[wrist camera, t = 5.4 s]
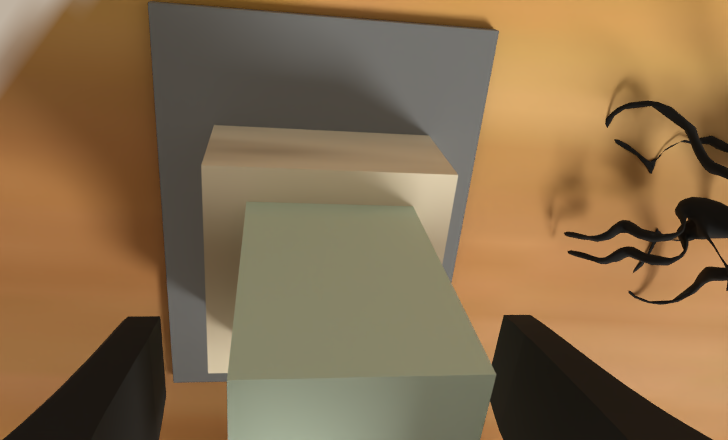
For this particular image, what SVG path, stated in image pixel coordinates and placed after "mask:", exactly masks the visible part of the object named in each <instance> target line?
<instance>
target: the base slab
mask: <svg viewBox="0 0 728 440" xmlns="http://www.w3.org/2000/svg"><path fill="white" fill-rule="evenodd" d="M201 174H202V204H203V234H204V264H205V294H206V324H207V355H208V373H228V366H229V357H230V348H231V338H232V329H233V320H234V311H235V302H236V292H237V283H238V274H239V265H240V256H241V247H242V237H243V228H244V219H245V210H246V202H277V203H313V204H348V205H384V206H413V207H414V209H415V211H416V213H417V215H418V217H419V219H420V221H421V223H422V225H423V227H424V229H425V231H426V233H427V235H428V237H429V239H430V241H431V244H432V246H433V248H434V250H435V252H436V254H437V256H438V258H439V260H440V262H441V264H443V258H444V252H445V247H446V241H447V236H448V230H449V224H450V219H451V213H452V208H453V202H454V196H455V191H456V185H457V180H458V174H457V173H456V171H455V170H454V169H453V167H452V166H451V164H450V163H449V162H448V160H447V159H446V158H445V156H444V155H443V154H442V152H441V151H440V150H439V148H438V147H437V146H436V144H435V143H434V142H433V140H432V139H431V138H430V136H429V135H408V134H388V133H367V132H347V131H326V130H306V129H285V128H265V127H244V126H224V125H214V127H213V130H212V133H211V136H210V139H209V142H208V146H207V149H206V152H205V155H204V158H203V161H202V164H201Z"/></svg>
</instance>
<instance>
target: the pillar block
mask: <svg viewBox="0 0 728 440" xmlns="http://www.w3.org/2000/svg"><path fill="white" fill-rule="evenodd" d="M495 378H496V373H495V371H494V369H493V367H492V365H491V363H490V360H489V358H488V356H487V354H486V352H485V350H484V348H483V346H482V344H481V342H480V340H479V338H478V336H477V334H476V332H475V330H474V328H473V326H472V324H471V322H470V320H469V318H468V316H467V314H466V312H465V310H464V308H463V306H462V304H461V302H460V300H459V298H458V296H457V294H456V292H455V290H454V288H453V286H452V284H451V282H450V280H449V278H448V276H447V274H446V272H445V270H444V268H443V266H442V264H441V262H440V260H439V258H438V256H437V254H436V252H435V250H434V248H433V246H432V244H431V241H430V239H429V237H428V235H427V233H426V231H425V229H424V227H423V225H422V223H421V221H420V219H419V217H418V215H417V213H416V211H415V209H414V207H413V206H384V205H348V204H313V203H277V202H246V210H245V219H244V228H243V237H242V247H241V256H240V265H239V274H238V283H237V292H236V302H235V311H234V320H233V329H232V338H231V348H230V357H229V366H228V375H227V420H228V440H480V438H481V434H482V430H483V426H484V422H485V418H486V414H487V410H488V406H489V402H490V398H491V394H492V390H493V386H494V382H495Z"/></svg>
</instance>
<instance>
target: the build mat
mask: <svg viewBox="0 0 728 440" xmlns="http://www.w3.org/2000/svg"><path fill="white" fill-rule="evenodd" d="M148 12H149V27H150V41H151V56H152V71H153V86H154V100H155V115H156V130H157V145H158V159H159V174H160V189H161V204H162V218H163V233H164V248H165V263H166V277H167V292H168V307H169V322H170V336H171V351H172V366H173V381H174V383H180V382H225V381H227V375H228V373H208V355H207V324H206V294H205V264H204V234H203V204H202V174H201V164H202V161H203V158H204V155H205V152H206V149H207V146H208V142H209V139H210V136H211V133H212V130H213V127H214V125H224V126H244V127H265V128H285V129H306V130H326V131H347V132H367V133H388V134H408V135H429V136H430V138H431V139H432V140H433V142H434V143H435V144H436V146H437V147H438V148H439V150H440V151H441V152H442V154H443V155H444V156H445V158H446V159H447V160H448V162H449V163H450V164H451V166H452V167H453V169H454V170H455V171H456V173H457V174H458V180H457V185H456V191H455V196H454V202H453V208H452V213H451V219H450V224H449V230H448V236H447V241H446V247H445V252H444V258H443V264H442V266H443V268H444V270H445V272H446V274H447V276H448V278H449V280H450V282H452V276H453V271H454V266H455V261H456V255H457V250H458V245H459V239H460V234H461V229H462V224H463V218H464V213H465V208H466V203H467V197H468V192H469V187H470V181H471V176H472V171H473V166H474V160H475V155H476V150H477V144H478V139H479V134H480V129H481V123H482V118H483V113H484V108H485V102H486V97H487V92H488V86H489V81H490V76H491V71H492V65H493V60H494V55H495V49H496V44H497V39H498V34H499V31H498V30H495V29H484V28H472V27H460V26H448V25H435V24H423V23H411V22H399V21H386V20H374V19H362V18H350V17H337V16H325V15H313V14H301V13H288V12H276V11H264V10H252V9H239V8H227V7H215V6H203V5H190V4H178V3H166V2H154V1H150V2H148Z"/></svg>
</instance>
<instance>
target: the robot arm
mask: <svg viewBox="0 0 728 440" xmlns="http://www.w3.org/2000/svg"><path fill="white" fill-rule="evenodd" d="M492 367H493V369H494V371H495V373H496V378H495V382H494V386H493V390H492V394H491V398H490V402H491V405H492V409H493V412H494V415H495V418H496V422H497V425H498V428H499V431H500V433H501V435H502V438H503V440H713V439H711V438H709V437H707V436H705V435H704V434H702V433H700V432H699V431H697V430H695V429H693V428H692V427H690V426H688V425H687V424H685V423H683V422H682V421H680V420H678V419H676V418H675V417H673V416H671V415H670V414H668V413H667V412H665V411H663V410H662V409H660V408H659V407H657V406H656V405H654V404H653V403H651V402H650V401H648V400H647V399H645V398H644V397H642V396H641V395H639V394H638V393H636V392H635V391H633V390H632V389H630V388H629V387H628V386H626V385H625V384H623V383H622V382H620V381H619V380H618V379H616V378H615V377H613V376H612V375H611V374H609V373H608V372H607V371H605V370H604V369H602V368H601V367H600V366H598V365H597V364H596V363H594V362H593V361H592V360H590V359H589V358H588V357H586V356H585V355H584V354H582V353H581V352H580V351H579V350H577V349H576V348H575V347H573V346H572V345H571V344H569V343H568V342H567V341H565V340H564V339H563V338H562V337H560V336H559V335H558V334H556V333H555V332H554V331H552V330H551V329H550V328H548V327H547V326H546V325H544V324H543V323H541V322H540V321H539V320H537V319H536V318H534V317H533V316H531V315H504V317H503V321H502V325H501V329H500V333H499V337H498V341H497V345H496V350H495V354H494V358H493V362H492ZM165 400H166V387H165V374H164V360H163V347H162V334H161V321H160V317H127V318H126V319H125V320H124V321H122V322H121V324H120V325H119V326H118V327H117V328H116V329H115V330H114V331H113V332H112V334H111V335H110V336H109V337H108V338H107V339H106V340H105V341H104V342H103V344H102V345H101V346H100V347H99V348H98V349H97V350H96V351H95V352H94V353H93V354H92V355H91V357H90V358H89V359H88V360H87V361H86V362H85V363H84V364H83V365H82V366H81V367H80V368H79V369H78V370H77V371H76V372H75V373H74V374H73V375H72V376H71V377H70V378H69V379H68V380H67V381H66V382H65V383H64V384H63V385H62V386H61V387H60V388H59V389H58V390H57V391H56V392H55V393H54V394H53V395H52V396H51V397H50V398H49V399H48V400H47V401H45V402H44V403H43V404H42V405H41V406H40V407H39V408H38V409H37V410H36V411H35V412H34V413H32V414H31V415H30V416H29V417H28V418H27V419H26V420H25V421H24V422H23V423H22V424H20V425H19V426H18V427H17V428H16V429H15V430H13V431H12V432H11V433H10V434H9V435H8V436H6V437H5V438H4V439H3V440H159V436H160V430H161V424H162V418H163V412H164V406H165Z"/></svg>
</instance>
